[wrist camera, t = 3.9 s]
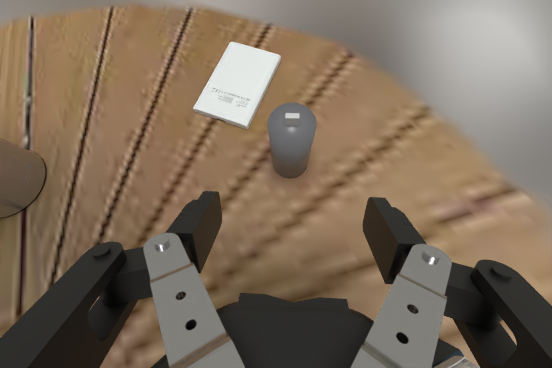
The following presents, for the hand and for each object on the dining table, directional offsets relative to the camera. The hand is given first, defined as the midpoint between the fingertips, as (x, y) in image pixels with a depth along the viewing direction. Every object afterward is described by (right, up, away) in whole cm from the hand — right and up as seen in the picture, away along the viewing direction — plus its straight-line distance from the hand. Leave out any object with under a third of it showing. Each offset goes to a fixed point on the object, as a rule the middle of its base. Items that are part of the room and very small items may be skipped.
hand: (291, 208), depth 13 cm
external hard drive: (-6, +15, +22) cm, 27 cm away
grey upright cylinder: (+1, +4, +17) cm, 18 cm away
